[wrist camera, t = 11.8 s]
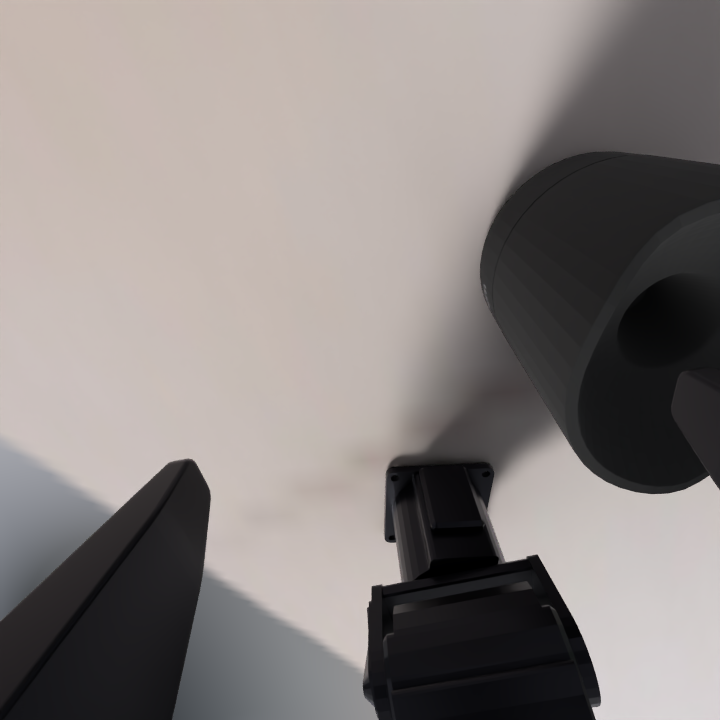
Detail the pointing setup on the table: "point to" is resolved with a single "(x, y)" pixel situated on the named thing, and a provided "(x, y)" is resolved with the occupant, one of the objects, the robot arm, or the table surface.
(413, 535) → the robot arm
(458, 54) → the table surface
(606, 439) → the pen holder
